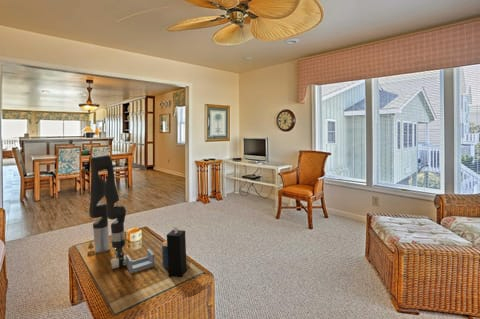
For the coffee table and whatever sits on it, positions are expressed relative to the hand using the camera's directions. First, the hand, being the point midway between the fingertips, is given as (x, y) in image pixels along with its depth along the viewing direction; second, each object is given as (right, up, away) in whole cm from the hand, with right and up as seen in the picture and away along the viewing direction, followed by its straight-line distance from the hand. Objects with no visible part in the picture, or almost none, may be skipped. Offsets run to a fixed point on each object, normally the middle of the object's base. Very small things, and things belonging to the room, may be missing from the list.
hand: (120, 264), depth 161 cm
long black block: (+38, -2, -9) cm, 39 cm away
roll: (+1, -1, -1) cm, 2 cm away
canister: (+32, -1, +2) cm, 33 cm away
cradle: (+13, -1, 0) cm, 13 cm away
